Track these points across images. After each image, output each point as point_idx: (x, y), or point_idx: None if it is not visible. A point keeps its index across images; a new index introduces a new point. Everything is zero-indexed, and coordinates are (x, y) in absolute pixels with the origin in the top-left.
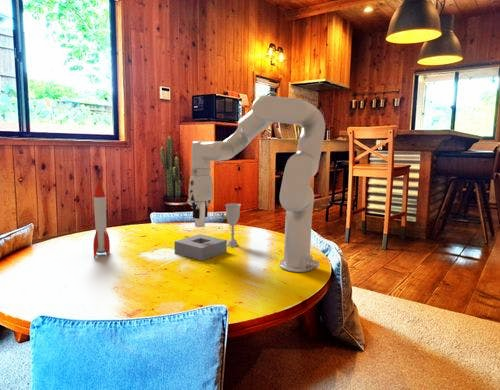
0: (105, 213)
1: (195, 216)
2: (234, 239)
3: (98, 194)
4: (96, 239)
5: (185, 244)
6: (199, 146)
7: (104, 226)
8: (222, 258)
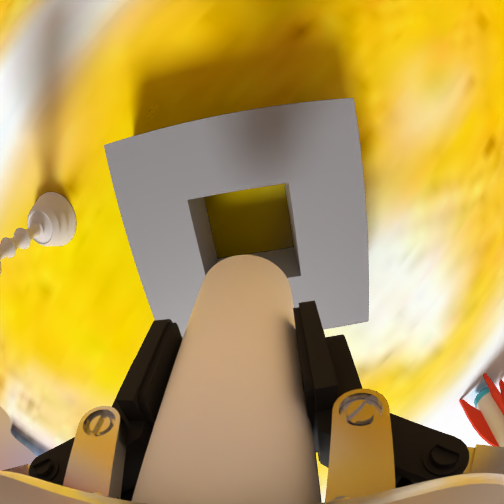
0: None
1: (343, 335)
2: (31, 221)
3: None
4: None
5: (366, 239)
6: None
7: None
8: (221, 63)
